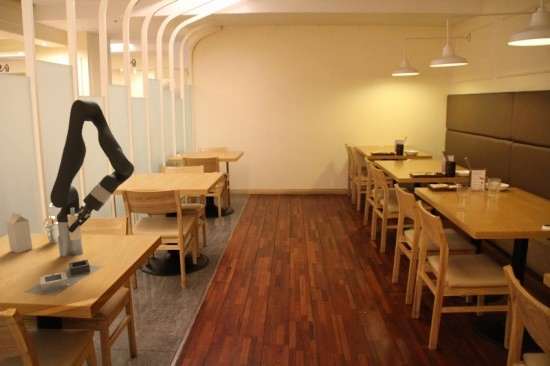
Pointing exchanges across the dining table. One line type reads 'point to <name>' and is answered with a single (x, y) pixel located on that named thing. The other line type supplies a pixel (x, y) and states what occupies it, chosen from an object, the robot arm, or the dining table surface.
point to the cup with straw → (51, 227)
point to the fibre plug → (71, 219)
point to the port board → (70, 281)
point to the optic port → (53, 281)
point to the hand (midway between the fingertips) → (69, 229)
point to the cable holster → (79, 267)
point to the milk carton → (19, 233)
